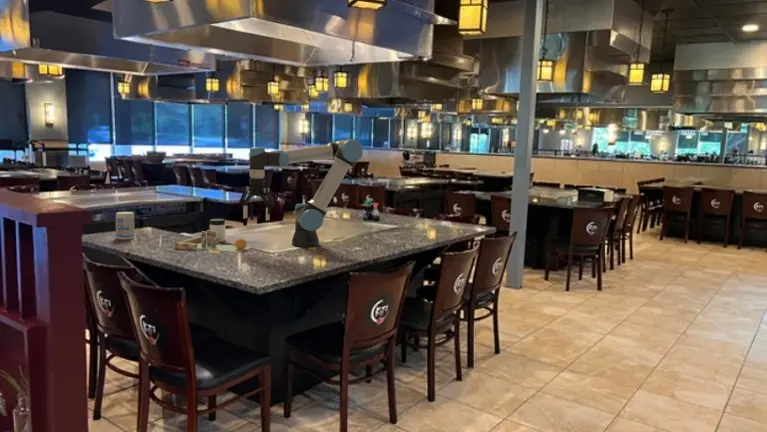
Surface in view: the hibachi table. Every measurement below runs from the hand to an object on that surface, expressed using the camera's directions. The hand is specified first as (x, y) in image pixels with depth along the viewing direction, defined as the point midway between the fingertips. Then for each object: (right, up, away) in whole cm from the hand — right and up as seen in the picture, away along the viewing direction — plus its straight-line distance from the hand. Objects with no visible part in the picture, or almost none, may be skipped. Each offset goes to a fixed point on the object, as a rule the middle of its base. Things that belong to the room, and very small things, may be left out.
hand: (256, 219), depth 296 cm
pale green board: (-22, -15, +8) cm, 28 cm away
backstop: (-34, -14, +11) cm, 39 cm away
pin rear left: (-30, -15, +8) cm, 34 cm away
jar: (-28, -12, +28) cm, 42 cm away
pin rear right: (-28, -14, +12) cm, 34 cm away
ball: (-9, -13, +4) cm, 17 cm away
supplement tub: (-80, -11, +26) cm, 85 cm away
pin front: (-25, -15, +9) cm, 30 cm away
